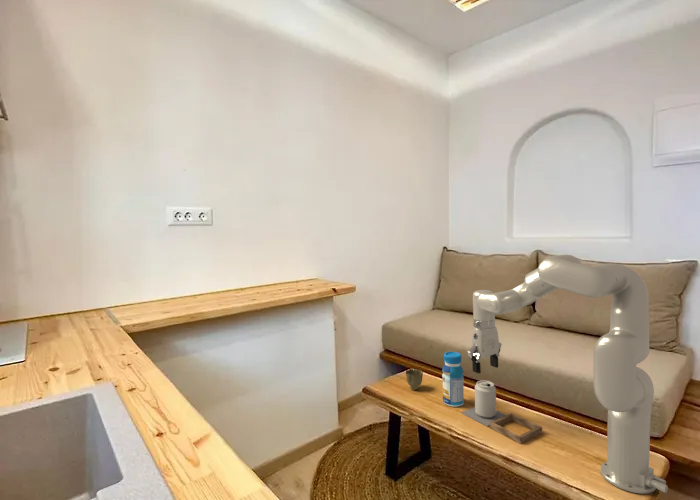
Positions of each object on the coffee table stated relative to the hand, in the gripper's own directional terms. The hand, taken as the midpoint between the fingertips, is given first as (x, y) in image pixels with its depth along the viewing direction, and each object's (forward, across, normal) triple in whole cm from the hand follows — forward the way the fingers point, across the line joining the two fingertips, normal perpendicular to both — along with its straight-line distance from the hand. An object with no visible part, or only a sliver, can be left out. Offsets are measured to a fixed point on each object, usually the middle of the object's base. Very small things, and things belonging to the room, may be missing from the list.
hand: (485, 369), depth 144 cm
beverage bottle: (+18, -2, +15) cm, 23 cm away
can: (+18, 0, +1) cm, 18 cm away
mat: (+18, 0, +1) cm, 18 cm away
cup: (+17, -6, +34) cm, 38 cm away
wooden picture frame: (+18, 0, -12) cm, 22 cm away
